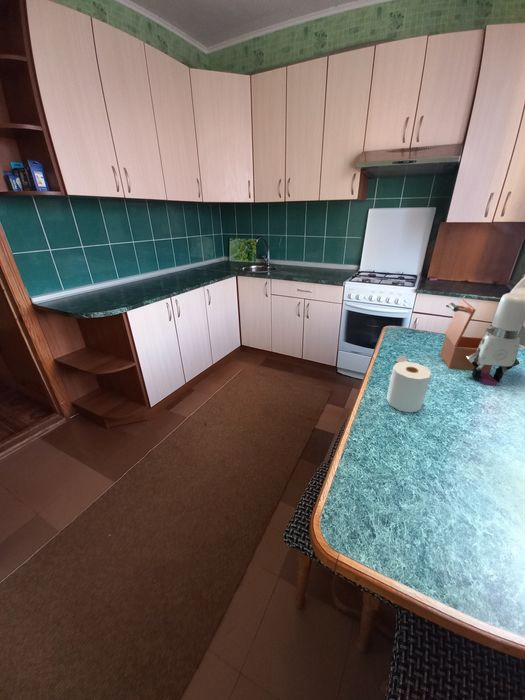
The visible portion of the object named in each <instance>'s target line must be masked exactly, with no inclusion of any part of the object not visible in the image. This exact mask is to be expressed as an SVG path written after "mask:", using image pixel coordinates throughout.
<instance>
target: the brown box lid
mask: <svg viewBox="0 0 525 700" xmlns="http://www.w3.org/2000/svg"><path fill="white" fill-rule="evenodd" d="M448 308H450V310H452V311H453V312H454V314H453V315H452V318H451V320H450V322H449V324H448V327H447V328H446V330H445V333H444V334H445V336H447V337H448V338H449V340H450V341H451V342H452V343H453V345H454V346H456V347H457V345H458V343H459V341H460V339H461V337H462V336H464V333H465V332H466V330H467V328H468V326H469V324H470V322H471V320H472V318H473V316H474V315H475V313H476V309H475V307H473V306H472V305H470V303H468V302H467V301H466V300H465V299H461V300H460V301H459V304H458V305H457V304H455V303H454V302H450V303H448Z"/></svg>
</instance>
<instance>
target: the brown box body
mask: <svg viewBox="0 0 525 700" xmlns="http://www.w3.org/2000/svg"><path fill="white" fill-rule="evenodd" d="M482 339H483V337H480V336H479V337H477V336H464V335H463V336H462V337H461V339H460V341H459V343H458V345H457V347H456V346H454V345H453V343H452V342H451V341H450V340H449V338H448V337H447V336H446V335H445V336H444V338H443V343H442V346H441V349H440V353H439V356H440V357H441V358H442V360H443V362H444V363H445V364H446V366H447V368H448V369H452V370H453V369H454V370H462V371H463V370H464V371H473V370H474V368H475V367H474V365H473V364H472V363H471V362H470V361H469V360H468V359H467V357H468V356H470V355H471V354H473V353H475V352H476V351H477V349H478V346H479V344H480V342H481V340H482ZM474 360H475V362H476V361H477V360H478V359H477V358H475V359H474ZM492 367H493V365H484V366H483V367H482V368H481V371H484V372H489V373H490V372H491V370H492Z"/></svg>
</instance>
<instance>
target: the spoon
mask: <svg viewBox="0 0 525 700" xmlns="http://www.w3.org/2000/svg"><path fill="white" fill-rule="evenodd" d="M395 361H396V363H399V362H404V361H406V362H409V361H408V357H407V356H406V355H399V356H398V357H397V358H396V359H395ZM391 375H392V373H391V374H390V375H389V377H388V381H389V382H390V380H391Z"/></svg>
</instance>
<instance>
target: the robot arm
mask: <svg viewBox="0 0 525 700" xmlns="http://www.w3.org/2000/svg"><path fill="white" fill-rule="evenodd" d="M524 323H525V276H523V277H522V278H521V279H520V281H518V282H517V283H516V285H515V286H514V287H513V288H511V290H510V292H507V293H504V294H502V296H501V298H500V300H499V303H498V305H497V308H496V310H495V314H494V317H493V319H492V322H491V324H490V326H486V327H485V329H484V331H485V332H486V333H485V334H484V336H483V337H482V338H483V339H482V340H481V342H480V344H479V346H478V349H477V351H476V352H475V353H473V354H471V355H470V356H468V357H467V359H468V360H469V361H470V362H471V363H472V364H473V365H474V367H475V368H474V370H472V374H471V375H472V377H473V378H474V380H475V381H480V380H479V377H480V374H481V372H482V371H481V368H482V367H483V366H484V365H492V366H497V367H496V368H495V371H494V373H493V375H492V376H493V378H494V379H495V380H496V381H497V382H498V383H500V382H501V380H502V378H503V376H504V374H505V373H507V372H508V370H510V369H513V368H514V367H516V366H518V365H520V364H521V363H520V361H519V360H518V358H517V356H518V353H519V349H520V345H521V344H520V343H521V338H520V337H519V335H520V333H521V330H522V328H523V326H524ZM475 358H477V359H478V360H477V361H476V362H475V360H474V359H475Z"/></svg>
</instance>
